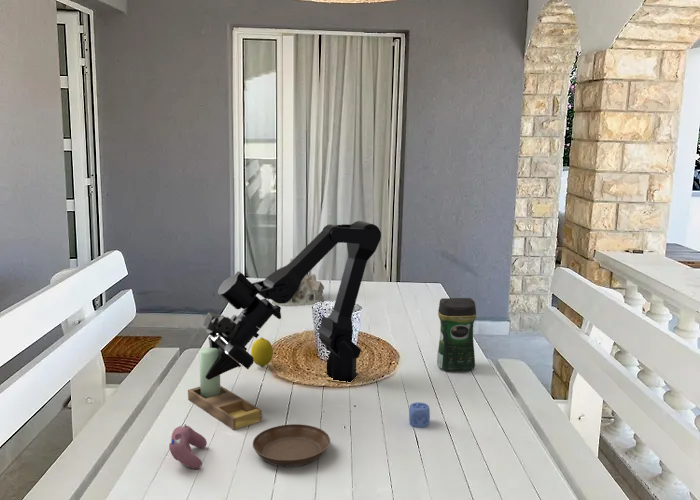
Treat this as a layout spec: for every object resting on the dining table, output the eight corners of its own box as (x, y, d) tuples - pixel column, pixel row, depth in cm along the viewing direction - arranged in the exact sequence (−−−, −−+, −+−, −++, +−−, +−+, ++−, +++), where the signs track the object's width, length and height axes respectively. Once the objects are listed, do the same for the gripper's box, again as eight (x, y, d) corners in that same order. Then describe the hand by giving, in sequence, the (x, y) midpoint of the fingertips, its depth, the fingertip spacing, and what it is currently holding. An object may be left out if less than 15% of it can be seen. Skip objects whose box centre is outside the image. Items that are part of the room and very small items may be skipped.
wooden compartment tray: (188, 399, 156) (187, 389, 156) (215, 392, 161) (215, 382, 160) (233, 429, 141) (233, 418, 141) (262, 420, 146) (261, 410, 145)
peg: (224, 399, 157) (222, 349, 154) (214, 406, 153) (212, 355, 150) (207, 396, 158) (205, 346, 156) (197, 403, 154) (195, 352, 152)
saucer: (258, 477, 123) (258, 463, 122) (248, 441, 137) (248, 428, 136) (338, 467, 127) (338, 453, 126) (320, 432, 141) (320, 420, 140)
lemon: (269, 371, 174) (268, 341, 173) (248, 370, 175) (247, 340, 174) (275, 364, 179) (275, 335, 178) (255, 362, 181) (255, 333, 179)
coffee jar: (469, 362, 182) (472, 294, 179) (477, 372, 175) (480, 302, 171) (433, 362, 182) (435, 294, 178) (439, 373, 174) (442, 302, 170)
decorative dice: (409, 419, 147) (409, 401, 146) (427, 419, 147) (428, 402, 146) (410, 427, 143) (410, 409, 142) (429, 428, 143) (429, 410, 142)
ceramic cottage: (265, 302, 240) (268, 260, 237) (294, 295, 254) (297, 255, 251) (300, 312, 232) (303, 269, 229) (328, 304, 245) (332, 263, 242)
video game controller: (188, 453, 134) (170, 424, 133) (209, 443, 134) (191, 413, 133) (180, 479, 125) (161, 447, 123) (203, 467, 125) (184, 436, 123)
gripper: (213, 290, 161) (167, 342, 158) (238, 310, 145) (187, 367, 142) (246, 319, 166) (202, 369, 163) (273, 340, 150) (225, 397, 147)
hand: (203, 374), depth 154 cm, fingers closed on peg, 4 cm apart
